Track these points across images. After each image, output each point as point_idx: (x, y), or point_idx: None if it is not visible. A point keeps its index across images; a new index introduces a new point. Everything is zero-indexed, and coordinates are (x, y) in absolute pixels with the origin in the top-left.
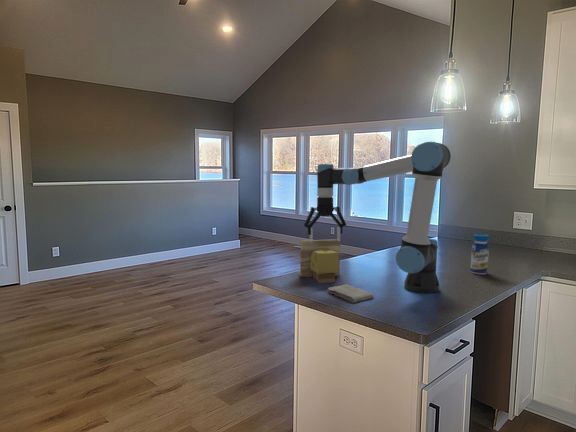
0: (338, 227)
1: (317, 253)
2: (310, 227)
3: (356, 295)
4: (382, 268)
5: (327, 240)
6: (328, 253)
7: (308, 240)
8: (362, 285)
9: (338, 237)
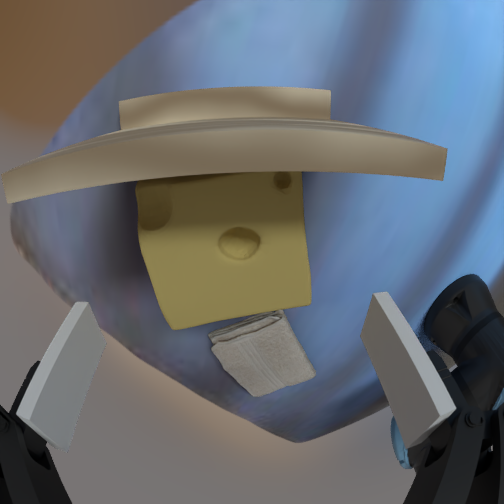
0: (413, 440)
1: (164, 316)
2: (45, 452)
3: (268, 391)
4: (494, 93)
5: (302, 169)
6: (241, 316)
7: (59, 178)
8: (348, 283)
9: (374, 351)
